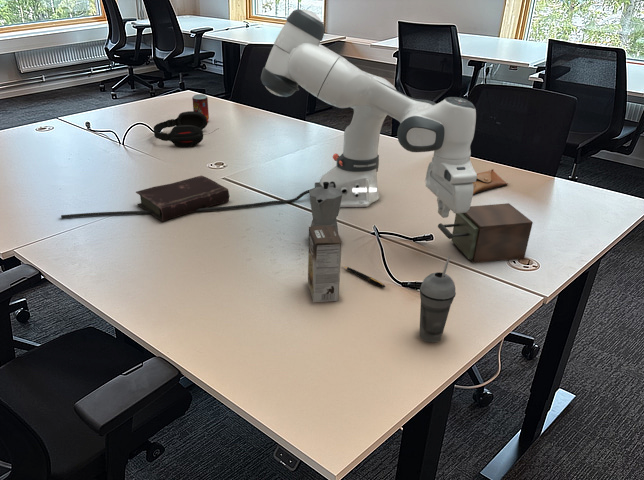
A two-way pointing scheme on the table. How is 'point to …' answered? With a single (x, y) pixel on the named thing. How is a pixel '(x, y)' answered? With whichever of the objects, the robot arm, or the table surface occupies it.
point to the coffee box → (324, 263)
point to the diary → (182, 197)
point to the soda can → (201, 104)
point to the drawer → (462, 234)
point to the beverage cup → (435, 304)
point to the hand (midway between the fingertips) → (442, 215)
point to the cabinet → (499, 232)
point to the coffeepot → (325, 205)
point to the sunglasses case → (487, 181)
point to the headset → (183, 129)
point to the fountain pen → (366, 277)
